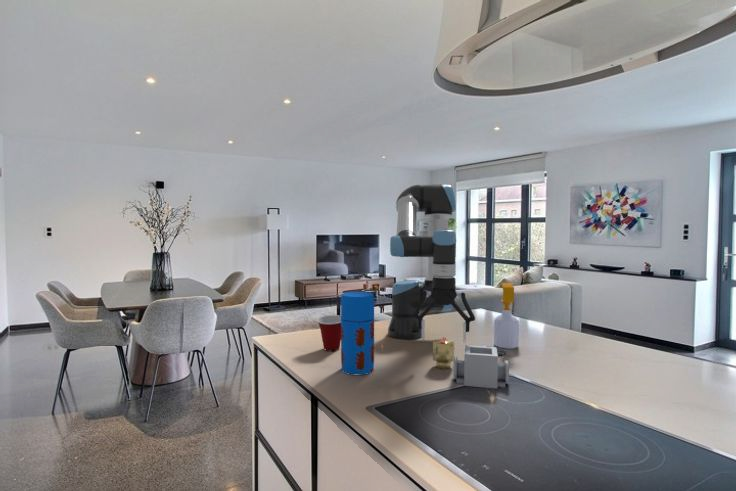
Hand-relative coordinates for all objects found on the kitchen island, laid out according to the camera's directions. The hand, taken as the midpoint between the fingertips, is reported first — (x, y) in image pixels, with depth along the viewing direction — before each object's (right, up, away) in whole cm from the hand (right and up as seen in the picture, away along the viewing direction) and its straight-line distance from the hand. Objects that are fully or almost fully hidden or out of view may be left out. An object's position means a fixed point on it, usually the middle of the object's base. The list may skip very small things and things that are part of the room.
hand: (443, 340), depth 144 cm
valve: (0, -9, +1) cm, 9 cm away
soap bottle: (+29, -8, +25) cm, 39 cm away
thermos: (-29, -9, -2) cm, 30 cm away
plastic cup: (-39, -8, +21) cm, 45 cm away
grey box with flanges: (+9, -10, -13) cm, 18 cm away
